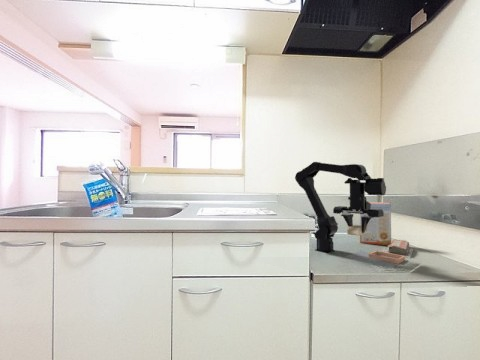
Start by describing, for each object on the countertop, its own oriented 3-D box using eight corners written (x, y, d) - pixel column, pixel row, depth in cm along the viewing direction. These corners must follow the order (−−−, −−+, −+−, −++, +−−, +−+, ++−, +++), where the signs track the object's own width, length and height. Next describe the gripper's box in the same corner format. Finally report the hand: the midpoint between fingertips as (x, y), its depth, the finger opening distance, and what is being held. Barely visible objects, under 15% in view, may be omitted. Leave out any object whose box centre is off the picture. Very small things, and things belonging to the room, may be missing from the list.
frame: (368, 257, 109) (368, 253, 109) (376, 254, 114) (376, 250, 114) (398, 263, 101) (398, 259, 101) (405, 259, 106) (405, 256, 106)
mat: (343, 258, 109) (343, 257, 109) (360, 251, 119) (360, 250, 119) (391, 269, 96) (391, 267, 96) (405, 260, 106) (405, 259, 106)
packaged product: (388, 237, 128) (413, 240, 122) (388, 247, 128) (413, 251, 122) (382, 245, 114) (410, 248, 108) (382, 256, 114) (410, 260, 108)
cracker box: (391, 243, 134) (391, 202, 134) (390, 246, 129) (390, 203, 129) (361, 240, 141) (361, 201, 141) (359, 242, 136) (359, 202, 136)
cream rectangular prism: (347, 234, 109) (347, 226, 109) (356, 231, 114) (356, 224, 114) (358, 235, 105) (358, 228, 105) (367, 233, 111) (367, 226, 111)
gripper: (388, 194, 108) (389, 232, 108) (345, 193, 122) (345, 227, 122) (377, 195, 101) (377, 236, 101) (332, 194, 115) (332, 230, 115)
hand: (357, 232), depth 110 cm, fingers closed on cream rectangular prism, 4 cm apart
